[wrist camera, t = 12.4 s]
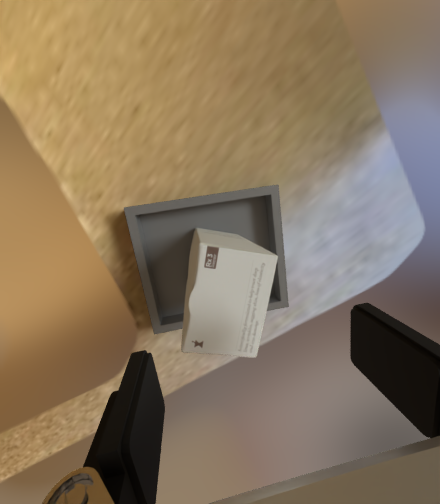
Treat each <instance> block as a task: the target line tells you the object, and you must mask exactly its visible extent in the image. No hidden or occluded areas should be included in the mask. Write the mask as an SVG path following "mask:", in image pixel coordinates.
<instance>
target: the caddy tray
mask: <svg viewBox="0 0 440 504" xmlns="http://www.w3.org/2000/svg"><path fill="white" fill-rule="evenodd" d="M124 211H125V215H126V219H127V224H128V228H129V232H130V236H131V240H132V244H133V248H134V253H135V257H136V261H137V265H138V269H139V273H140V277H141V281H142V286H143V290H144V294H145V298H146V302H147V306H148V310H149V315H150V319H151V323H152V327H153V331H154V334H159V333H163V332H168V331H173V330H178V329H183V319H184V305H185V294H186V283H187V279H188V267H189V256H190V249H191V244H192V239H193V235H194V231H195V228H202V229H208V230H214V231H220V232H226V233H232V234H238V235H240V236H241V237H243V238H245V239H247V240H249V241H251V242H253V243H255V244H257V245H259V246H261V247H263V248H264V249H266V250H268V251H270V252H272V253H273V254H275V255H277V256H278V259H277V264H276V269H275V274H274V279H273V283H272V288H271V293H270V298H269V302H268V307H267V311H270V310H274V309H279V308H284V307H289V304H288V292H287V280H286V268H285V256H284V245H283V233H282V221H281V209H280V197H279V185H272V186H265V187H259V188H252V189H245V190H239V191H232V192H225V193H219V194H212V195H205V196H198V197H192V198H185V199H178V200H172V201H165V202H158V203H152V204H145V205H138V206H132V207H125V208H124Z"/></svg>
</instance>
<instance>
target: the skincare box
mask: <svg viewBox="0 0 440 504" xmlns="http://www.w3.org/2000/svg"><path fill="white" fill-rule="evenodd" d="M277 259H278V256H277V255H275V254H273V253H272V252H270V251H268V250H266V249H264V248H263V247H261V246H259V245H257V244H255V243H253V242H251V241H249V240H247V239H245V238H243V237H241V236H240V235H238V234H232V233H226V232H220V231H214V230H208V229H202V228H195V231H194V235H193V239H192V244H191V249H190V256H189V267H188V279H187V283H186V294H185V305H184V319H183V331H182V345H181V350H182V352H183V353H200V354H217V355H232V356H241V357H254V358H255V357H256V356H257V352H258V348H259V343H260V339H261V334H262V330H263V325H264V321H265V316H266V312H267V307H268V302H269V298H270V293H271V288H272V283H273V279H274V274H275V269H276V264H277Z"/></svg>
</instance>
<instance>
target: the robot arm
mask: <svg viewBox="0 0 440 504" xmlns="http://www.w3.org/2000/svg"><path fill="white" fill-rule="evenodd" d="M351 360H352V362H353V364H354V365H355V366H356V367H357V368H358V369H359V370H360V371H361V372H362V373H363V374H364V375H365V376H366V377H367V378H368V379H369V380H370V381H371V382H372V383H373V384H374V385H375V386H376V387H377V388H378V390H379V391H380V392H382V394H383V395H385V397H386V398H387V399H388V400H389V401H390V402H391V403H393V405H395V407H396V408H398V410H399V411H401V413H402V414H403V415H404V416H405V417H406V418H407V419H408V420H409V421H410V422H411V423H413V425H414V426H415V427H416V428H417V429H418V430H419V431H420V432H421V433H422V434H423V435H425V436H426V437H430V439H427V440H424V441H420V442H417V443H413V444H409V445H406V446H402V447H399V448H395V449H392V450H388V451H385V452H382V453H378V454H374V455H371V456H368V457H364V458H360V459H357V460H353V461H350V462H346V463H343V464H340V465H336V466H333V467H329V468H326V469H322V470H319V471H316V472H312V473H309V474H306V475H302V476H298V477H295V478H292V479H289V480H285V481H282V482H278V483H275V484H272V485H269V486H265V487H262V488H258V489H255V490H252V491H248V492H245V493H241V494H238V495H235V496H232V497H228V498H225V499H222V500H219V501H216V502H212V503H209V504H440V345H439V344H438V343H436V342H434V341H432V340H431V339H429V338H427V337H425V336H424V335H422V334H420V333H419V332H417V331H415V330H414V329H412V328H410V327H408V326H407V325H405V324H403V323H402V322H400V321H398V320H397V319H395V318H393V317H391V316H389V315H388V314H386V313H385V312H383V311H381V310H380V309H378V308H376V307H374V306H372V305H371V304H369V303H364V304H358V305H355V306H354V307H353V309H352V310H351ZM164 413H165V406H164V399H163V396H162V392H161V388H160V384H159V380H158V376H157V372H156V369H155V365H154V361H153V357H152V354H151V353H147V351H146V350H144V351H139V352H134V353H132V354H131V356H130V359H129V362H128V365H127V367H126V370H125V373H124V376H123V379H122V382H121V385H120V387H119V390H118V391H114V392H113V393H112V394H111V395H110V397H109V400H108V403H107V405H106V408H105V411H104V413H103V416H102V418H101V421H100V424H99V426H98V429H97V432H96V434H95V437H94V439H93V442H92V445H91V447H90V450H89V452H88V455H87V458H86V460H85V463H84V466H83V468H79V469H76V470H75V471H72V472H70V473H69V474H68V475H66V476H65V477H63V478H62V479H61V480H60V481H59V482H58V483H57V484H56V485H55V486H54V487H53V488H52V489H51V491H50V492H49V493H48V495H47V496H46V498H45V499H44V501H43V502H42V504H155V503H156V493H157V482H158V472H159V463H160V453H161V442H162V433H163V422H164Z"/></svg>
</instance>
